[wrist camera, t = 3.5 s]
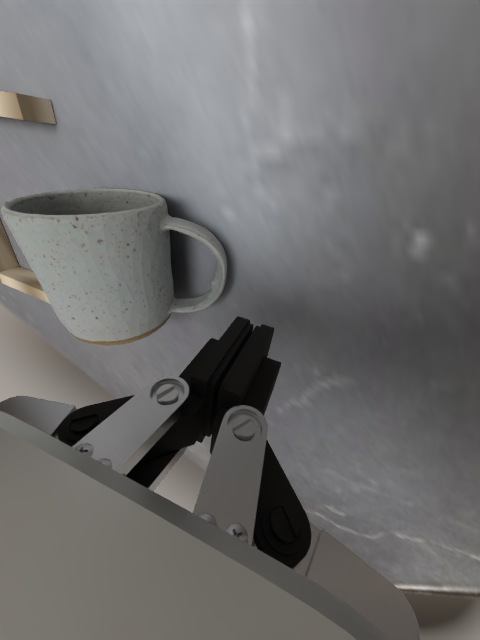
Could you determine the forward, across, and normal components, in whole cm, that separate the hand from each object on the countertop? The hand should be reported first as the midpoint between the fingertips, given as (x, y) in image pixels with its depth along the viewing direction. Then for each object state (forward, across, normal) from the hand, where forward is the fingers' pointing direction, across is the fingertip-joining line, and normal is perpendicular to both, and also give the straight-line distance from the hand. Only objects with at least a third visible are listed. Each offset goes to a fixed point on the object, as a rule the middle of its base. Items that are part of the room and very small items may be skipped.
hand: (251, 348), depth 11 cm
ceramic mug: (+7, +9, -1) cm, 11 cm away
